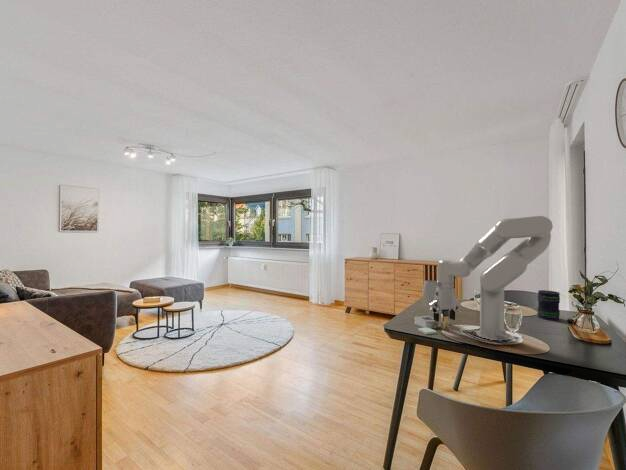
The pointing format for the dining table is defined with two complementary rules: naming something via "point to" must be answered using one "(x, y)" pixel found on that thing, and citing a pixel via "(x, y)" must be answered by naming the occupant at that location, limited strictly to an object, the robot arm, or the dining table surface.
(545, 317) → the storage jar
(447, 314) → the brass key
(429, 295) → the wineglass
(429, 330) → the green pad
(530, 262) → the robot arm
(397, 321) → the dining table surface
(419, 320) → the chuck block
